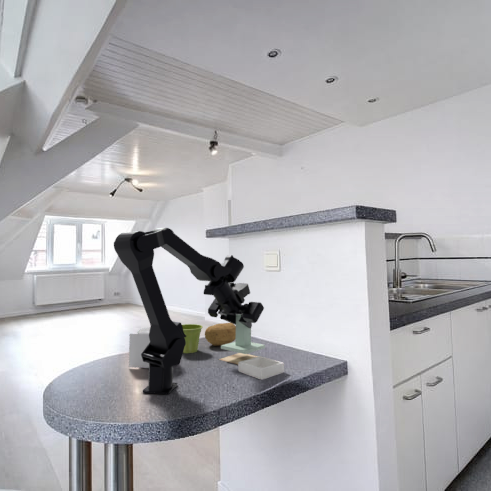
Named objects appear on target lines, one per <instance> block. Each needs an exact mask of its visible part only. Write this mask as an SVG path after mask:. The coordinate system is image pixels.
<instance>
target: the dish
mask: <svg viewBox="0 0 491 491" xmlns="http://www.w3.org/2000/svg"><path fill="white" fill-rule="evenodd" d="M238 373H242V374H244V375H247V376H250V377H253V378H255V379H258V380H261V381H263V380H266V379H268V378H271V377H275V376H277V375H281V374H284V373H285V363H284V362H282V361H278V360H275V359H272V358H268V357H265V356H258V357H256V358H252V359H248V360H244V361H240V362H239V365H238Z"/></svg>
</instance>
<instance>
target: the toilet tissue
mask: <svg viewBox="0 0 491 491" xmlns="http://www.w3.org/2000/svg"><path fill="white" fill-rule="evenodd" d="M149 332H150V327H144V328H140V329H138V330H137V333H129V341H128V342H129V344H128V345H129V346H128V367H129V368H144V369H149V363H147V362H143V360H142V357H141V354H142V352H143V351H144V350H145V348H146V347H147V346H148V344H149V343H150V339H149ZM160 356H162V357H164V355H162V354H161V355H160Z"/></svg>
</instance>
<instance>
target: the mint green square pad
mask: <svg viewBox="0 0 491 491" xmlns="http://www.w3.org/2000/svg"><path fill="white" fill-rule="evenodd" d="M256 357H259V356H257V355H253V354H251V353H248V354H242V353H238V352H236V353H234V354H231V355H228V356H225V357H222V358H219V359H218V360H219V361H223V362H226V363H230V364H234V365H237V366H239V362H240V361H244V360H248V359H252V358H256Z"/></svg>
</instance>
